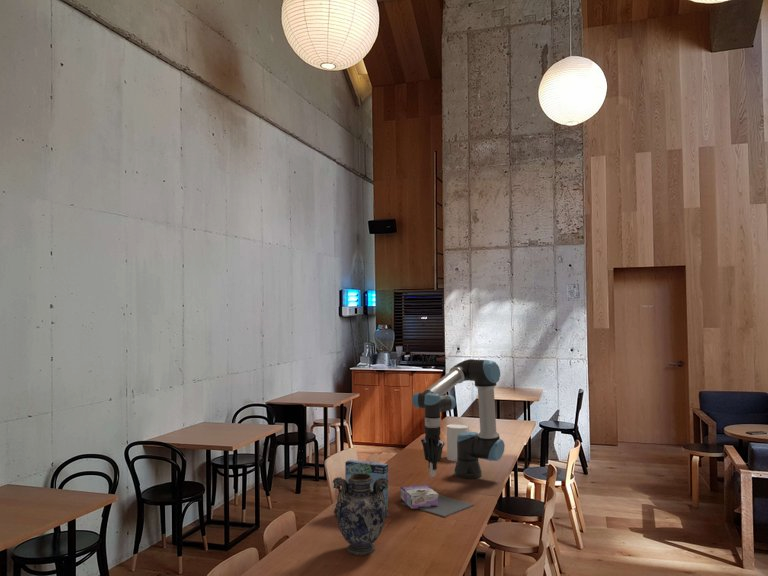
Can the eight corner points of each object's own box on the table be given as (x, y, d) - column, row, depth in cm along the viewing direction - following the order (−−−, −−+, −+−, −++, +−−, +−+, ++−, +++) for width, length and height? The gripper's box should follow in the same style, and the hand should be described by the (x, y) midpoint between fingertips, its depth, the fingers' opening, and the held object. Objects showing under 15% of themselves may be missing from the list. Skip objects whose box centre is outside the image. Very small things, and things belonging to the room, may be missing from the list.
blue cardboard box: (344, 513, 268) (344, 461, 269) (349, 509, 273) (349, 459, 274) (384, 519, 260) (383, 466, 261) (388, 515, 265) (388, 463, 266)
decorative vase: (388, 539, 237) (387, 468, 237) (390, 559, 218) (389, 483, 219) (334, 540, 236) (333, 469, 237) (331, 560, 217) (331, 484, 218)
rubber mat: (431, 493, 296) (431, 492, 296) (474, 505, 278) (474, 504, 278) (401, 504, 280) (401, 502, 280) (444, 517, 262) (444, 516, 262)
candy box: (400, 498, 287) (410, 509, 271) (400, 486, 287) (410, 496, 271) (427, 496, 290) (439, 506, 275) (427, 483, 291) (438, 493, 275)
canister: (443, 457, 370) (443, 424, 370) (463, 455, 374) (463, 423, 374) (452, 462, 357) (452, 428, 357) (472, 460, 361) (472, 427, 362)
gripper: (417, 425, 285) (417, 475, 284) (438, 429, 276) (438, 480, 275) (427, 423, 291) (427, 472, 290) (448, 427, 281) (448, 477, 280)
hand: (432, 476), depth 282 cm, fingers closed
